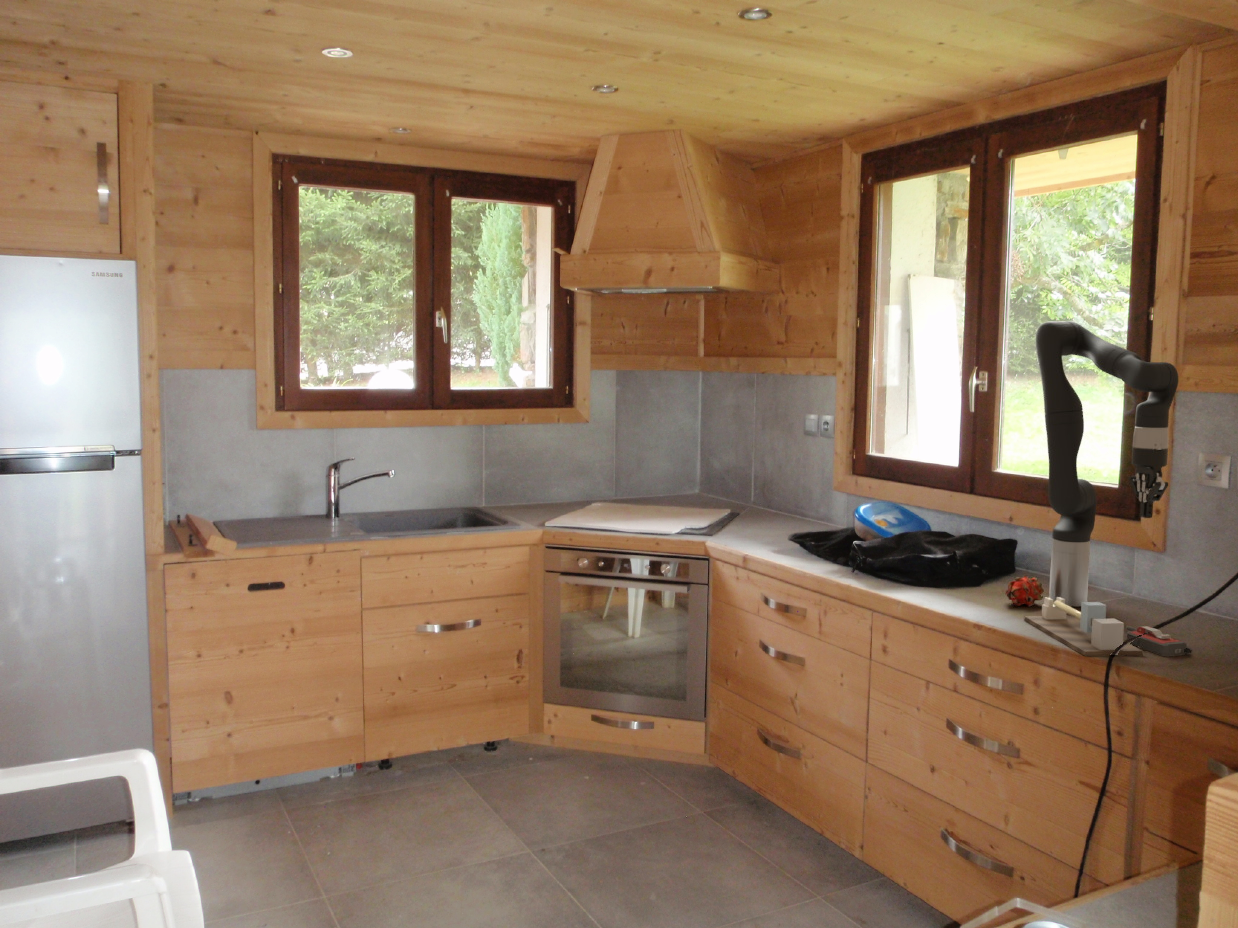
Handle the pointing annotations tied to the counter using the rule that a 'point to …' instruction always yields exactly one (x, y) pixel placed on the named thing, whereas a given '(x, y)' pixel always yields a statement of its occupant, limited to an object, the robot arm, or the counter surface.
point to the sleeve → (1091, 614)
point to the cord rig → (1103, 630)
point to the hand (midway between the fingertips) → (1146, 517)
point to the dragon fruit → (1024, 591)
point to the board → (1075, 635)
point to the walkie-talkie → (1157, 641)
